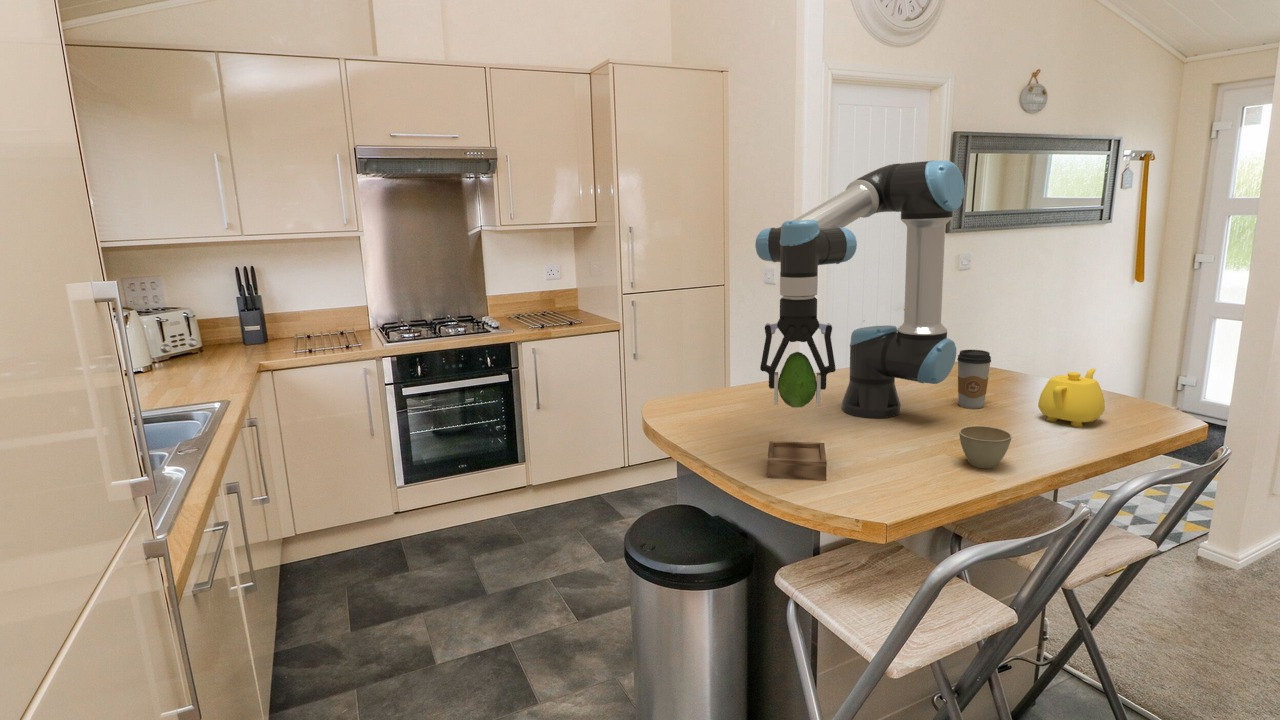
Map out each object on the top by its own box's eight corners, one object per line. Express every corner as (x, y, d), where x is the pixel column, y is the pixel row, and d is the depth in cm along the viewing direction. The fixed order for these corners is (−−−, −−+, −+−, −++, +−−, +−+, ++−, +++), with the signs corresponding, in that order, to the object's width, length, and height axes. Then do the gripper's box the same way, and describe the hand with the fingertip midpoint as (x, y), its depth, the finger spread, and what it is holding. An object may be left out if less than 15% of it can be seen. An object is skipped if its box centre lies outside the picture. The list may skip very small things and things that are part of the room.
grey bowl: (948, 458, 154) (950, 427, 152) (991, 455, 155) (993, 424, 153) (973, 474, 144) (975, 441, 142) (1019, 471, 145) (1022, 438, 143)
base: (823, 459, 155) (824, 442, 155) (826, 480, 144) (826, 462, 143) (769, 457, 158) (769, 440, 157) (767, 477, 146) (767, 459, 146)
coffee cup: (954, 408, 189) (958, 354, 186) (953, 400, 197) (957, 348, 194) (989, 411, 186) (993, 356, 183) (986, 402, 194) (990, 349, 190)
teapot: (1117, 418, 177) (1123, 370, 174) (1081, 434, 165) (1086, 384, 163) (1061, 407, 187) (1066, 362, 185) (1023, 421, 176) (1027, 374, 174)
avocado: (792, 414, 143) (793, 357, 140) (770, 405, 150) (771, 350, 147) (824, 408, 146) (825, 352, 143) (801, 400, 153) (802, 346, 150)
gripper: (849, 294, 144) (846, 400, 149) (748, 294, 149) (748, 397, 154) (852, 298, 137) (849, 409, 142) (746, 299, 142) (746, 407, 146)
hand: (796, 403), depth 148 cm, fingers closed on avocado, 8 cm apart
